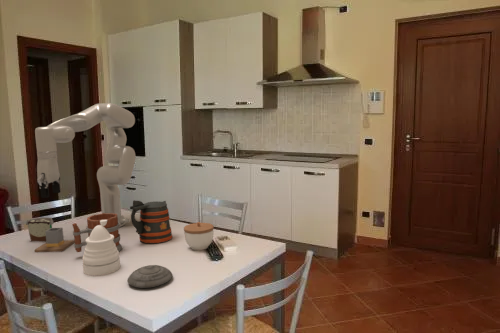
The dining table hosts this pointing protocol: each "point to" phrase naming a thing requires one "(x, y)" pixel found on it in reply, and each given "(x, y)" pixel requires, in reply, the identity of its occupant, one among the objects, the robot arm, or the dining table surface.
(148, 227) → the beer stein
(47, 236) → the sleeve
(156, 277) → the flying saucer
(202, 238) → the lidded bowl
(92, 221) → the mug
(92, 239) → the honey pot
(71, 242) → the pin board
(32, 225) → the food container
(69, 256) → the dining table surface
